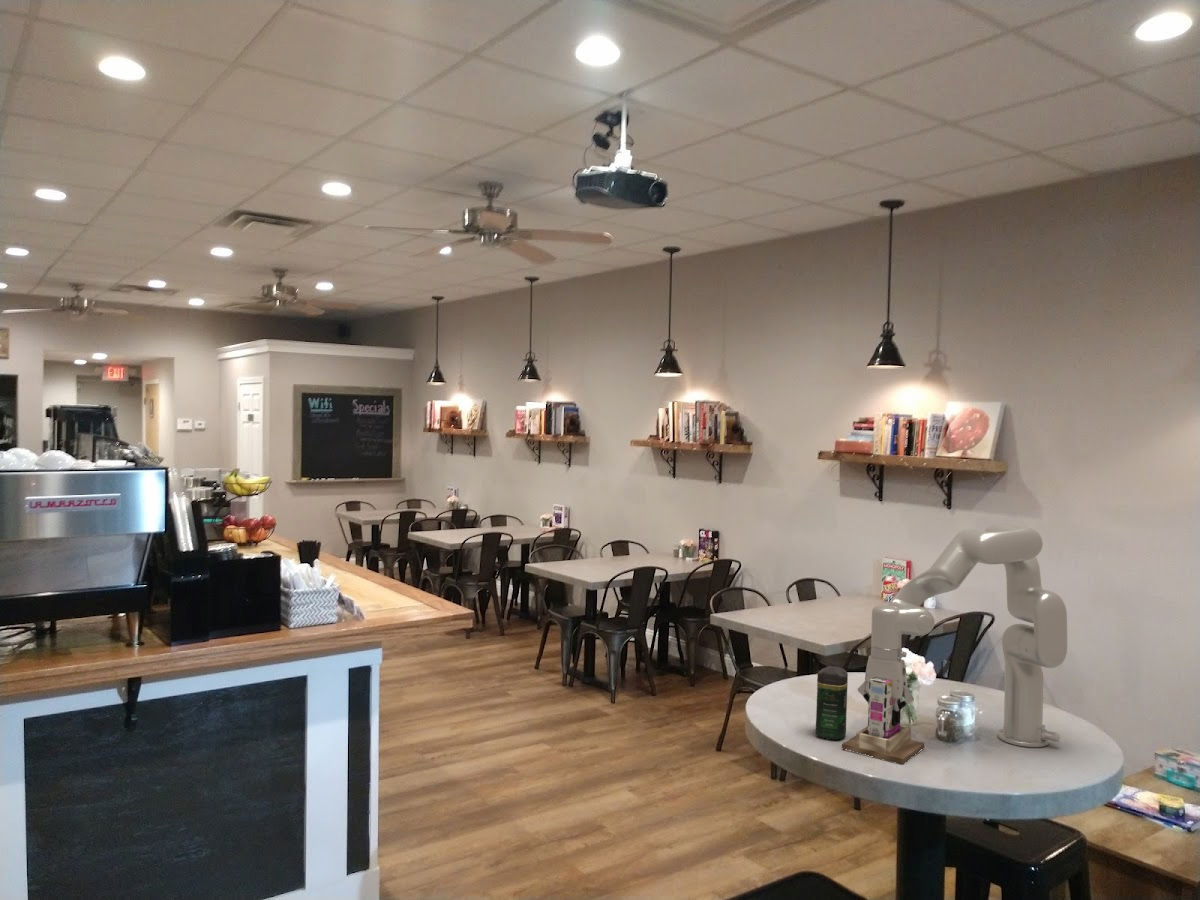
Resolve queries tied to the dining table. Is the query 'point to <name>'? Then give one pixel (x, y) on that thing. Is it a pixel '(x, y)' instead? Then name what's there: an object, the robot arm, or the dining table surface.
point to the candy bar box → (881, 709)
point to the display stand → (885, 745)
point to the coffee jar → (831, 702)
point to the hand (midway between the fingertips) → (884, 721)
